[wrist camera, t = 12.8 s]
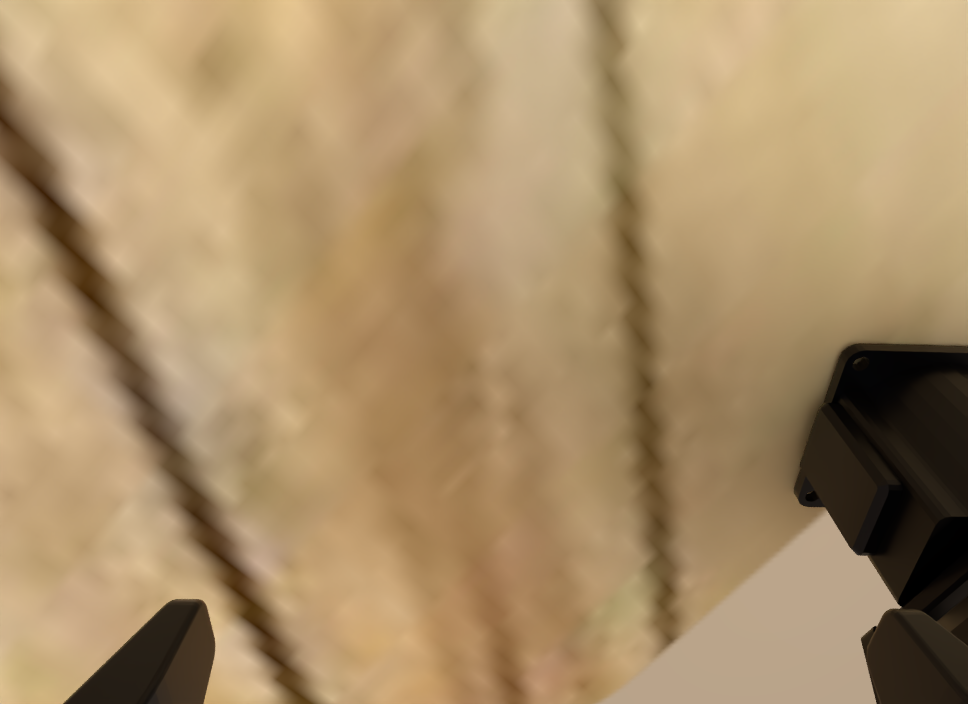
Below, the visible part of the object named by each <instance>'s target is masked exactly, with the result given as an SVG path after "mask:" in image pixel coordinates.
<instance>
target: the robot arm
mask: <svg viewBox="0 0 968 704" xmlns="http://www.w3.org/2000/svg"><path fill="white" fill-rule="evenodd" d="M861 357H863V358H862V360H861V361H860V362H858V363H857V364H853V363H854V361H855V360H856V359H858V358H861ZM800 467H801V470H800V473H799V476H798V479H797V482H796V485H795V487H794V494H795V496H796V497H797V499H798V501H799V503H800V504H801V505H803V506H807V507H825V508H826V509H827V511H828V512H829V514H830V516H831V517H832V519H833V521H834V522H835V524H836V525H837V527H838V529H839V530H840V532H841V534H842V535H843V537H844V538H845V540H846V542H847V543H848V545H849V547H850V548H851V549H852V550H853V551H854V552H855V553H856V554H857V555H864V556H866V555H867V556H868V558H869V559H870V561H871V562H872V564H873V565H874V567H875V568H876V570H877V572H878V573H879V575H880V576H881V578H882V580H883V581H884V583H885V584H886V586H887V587H888V589H889V591H890V592H891V594H892V595H893V597H894V598H895V600H896V601H897V603H898V604H899V605H900V606H901V608H900V609H889V610H888V611H886V612H885V613H884V614H883V616H882V618H881V620H880V622H879V624H878V626H877V627H876V626H874V627H873V628H872V629H871V630H870V631H868V632H867V633H866V634H865V635H864V636H863V637H862V638H861V641H862V646H863V649H864V653H865V658H866V662H867V665H868V670H869V674H870V678H871V682H872V686H873V690H874V694H875V698H876V702H877V704H968V347H962V346H924V345H886V344H855V345H852V346H850V347H848V348H846V349H845V350H844V351H843V352H842V354H841V355H840V357H839V360H838V363H837V366H836V369H835V372H834V375H833V378H832V380H831V383H830V386H829V389H828V392H827V395H826V398H825V401H824V404H823V405H822V406H821V407H820V408H819V410H818V413H817V416H816V419H815V422H814V424H813V427H812V430H811V433H810V436H809V439H808V442H807V445H806V448H805V451H804V454H803V456H802V459H801V462H800ZM811 491H813V492H811ZM809 492H811V493H809ZM807 493H809V494H807ZM214 655H215V638H214V634H213V630H212V626H211V622H210V618H209V614H208V609H207V606H206V604H205V603H204V601H202V600H199V599H175V600H172V601H170V602H168V603H167V604H166V605H164V606H163V607H162V608H161V609H160V610H159V611H158V612H157V613H156V614H155V615H154V616H153V617H152V618H151V619H150V620H149V621H148V622H147V623H146V624H145V625H144V626H143V627H142V628H141V629H140V630H139V631H138V632H137V633H136V634H134V635H133V636H132V637H131V638H130V639H129V640H128V641H127V642H126V643H125V644H124V645H123V646H122V647H121V648H120V649H119V650H118V651H117V652H116V653H115V654H114V655H113V656H112V657H111V658H110V659H109V660H108V661H107V662H106V663H105V664H103V665H102V666H101V667H100V668H99V669H98V670H97V671H96V672H95V673H94V674H93V675H92V676H91V677H90V678H89V679H88V680H87V681H86V682H85V683H84V684H83V685H82V686H81V687H80V688H79V689H78V690H77V691H76V692H75V693H74V694H72V695H71V696H70V697H69V698H68V699H67V700H66V701H65V702H64V703H63V704H203V703H204V699H205V695H206V690H207V686H208V682H209V677H210V673H211V669H212V665H213V660H214Z"/></svg>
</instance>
